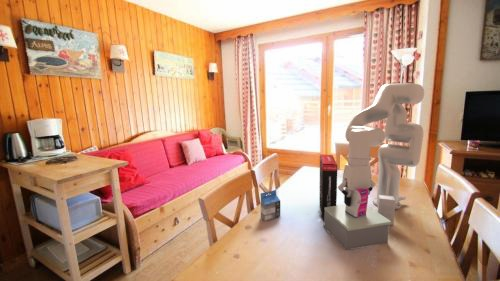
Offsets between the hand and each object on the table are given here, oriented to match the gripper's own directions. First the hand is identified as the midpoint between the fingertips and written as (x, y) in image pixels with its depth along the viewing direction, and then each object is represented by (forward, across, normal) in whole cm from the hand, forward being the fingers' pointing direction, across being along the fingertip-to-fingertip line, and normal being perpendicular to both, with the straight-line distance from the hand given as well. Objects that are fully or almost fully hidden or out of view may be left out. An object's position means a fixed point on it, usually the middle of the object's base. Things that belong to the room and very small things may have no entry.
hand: (355, 203), depth 96 cm
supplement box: (+5, 0, 0) cm, 5 cm away
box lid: (+6, 0, 0) cm, 6 cm away
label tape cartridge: (+14, +29, -22) cm, 39 cm away
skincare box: (+14, -19, -5) cm, 24 cm away
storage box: (+14, 0, 0) cm, 14 cm away
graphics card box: (+14, +1, -20) cm, 24 cm away
